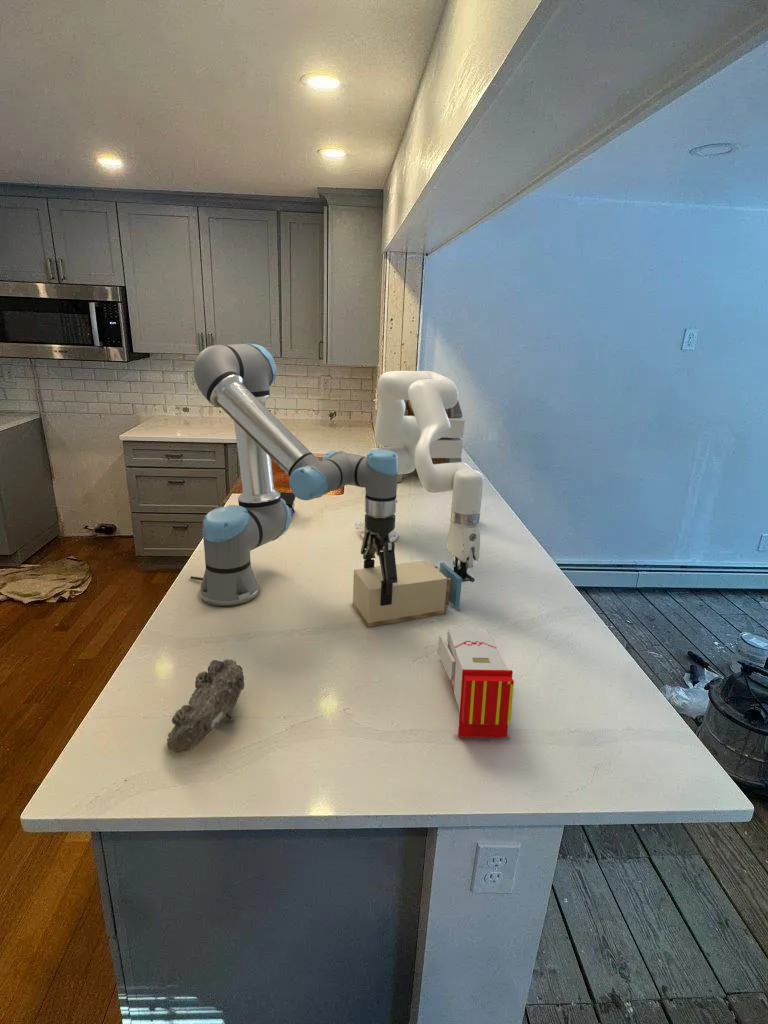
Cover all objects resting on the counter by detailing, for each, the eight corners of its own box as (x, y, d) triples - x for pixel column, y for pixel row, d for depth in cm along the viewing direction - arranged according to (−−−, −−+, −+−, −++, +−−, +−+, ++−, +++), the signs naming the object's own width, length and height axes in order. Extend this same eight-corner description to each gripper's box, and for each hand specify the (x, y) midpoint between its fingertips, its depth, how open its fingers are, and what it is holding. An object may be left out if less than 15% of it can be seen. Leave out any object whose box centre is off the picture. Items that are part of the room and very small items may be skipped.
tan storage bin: (424, 593, 159) (427, 559, 155) (444, 613, 149) (447, 578, 145) (352, 604, 151) (353, 569, 147) (367, 626, 141) (369, 589, 137)
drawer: (457, 586, 162) (460, 559, 159) (476, 603, 153) (479, 575, 150) (375, 599, 152) (376, 571, 149) (389, 618, 143) (391, 588, 140)
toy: (488, 613, 130) (523, 677, 101) (484, 667, 133) (517, 744, 104) (435, 612, 130) (455, 676, 101) (432, 666, 133) (451, 743, 103)
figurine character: (292, 527, 205) (297, 509, 218) (292, 508, 201) (297, 491, 215) (273, 526, 205) (280, 508, 218) (273, 507, 201) (279, 490, 215)
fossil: (192, 660, 117) (244, 628, 112) (224, 691, 120) (276, 661, 115) (142, 746, 98) (202, 712, 93) (182, 779, 101) (242, 748, 96)
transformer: (382, 463, 289) (386, 382, 275) (445, 464, 293) (451, 384, 279) (390, 482, 257) (394, 392, 243) (460, 483, 261) (468, 394, 247)
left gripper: (414, 529, 129) (409, 613, 137) (376, 497, 150) (373, 571, 157) (384, 532, 126) (380, 618, 134) (349, 499, 147) (348, 575, 155)
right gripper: (492, 525, 143) (485, 590, 149) (463, 506, 156) (458, 567, 162) (466, 528, 140) (460, 594, 146) (439, 509, 153) (434, 570, 159)
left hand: (376, 593), depth 146 cm, fingers closed on tan storage bin, 12 cm apart
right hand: (459, 580), depth 154 cm, fingers closed
